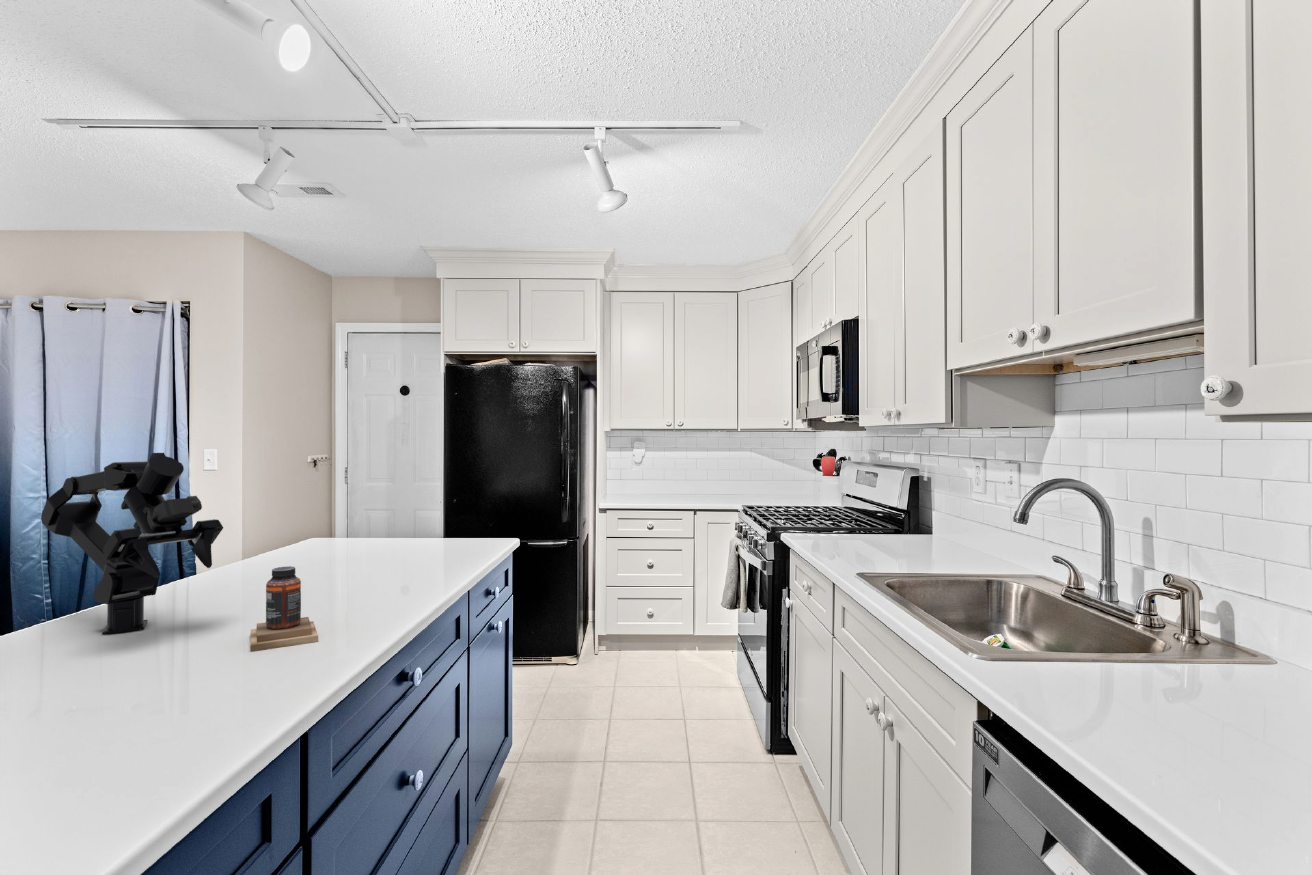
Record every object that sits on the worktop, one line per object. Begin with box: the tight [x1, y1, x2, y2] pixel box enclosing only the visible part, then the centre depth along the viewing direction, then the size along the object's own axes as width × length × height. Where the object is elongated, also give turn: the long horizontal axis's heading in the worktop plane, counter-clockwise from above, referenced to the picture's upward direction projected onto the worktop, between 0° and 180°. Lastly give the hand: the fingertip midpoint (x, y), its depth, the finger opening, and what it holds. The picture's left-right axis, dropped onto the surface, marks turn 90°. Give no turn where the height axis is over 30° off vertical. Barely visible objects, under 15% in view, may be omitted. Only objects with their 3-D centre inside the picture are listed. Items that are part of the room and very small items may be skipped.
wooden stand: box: [250, 616, 319, 653], centre depth 123 cm, size 11×11×2 cm
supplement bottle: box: [265, 565, 302, 629], centre depth 123 cm, size 6×6×11 cm
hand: (185, 571), depth 121 cm, fingers open, 9 cm apart
